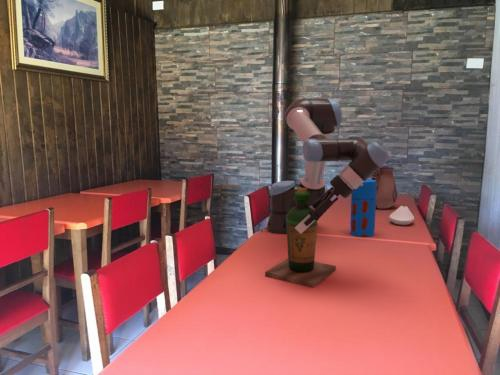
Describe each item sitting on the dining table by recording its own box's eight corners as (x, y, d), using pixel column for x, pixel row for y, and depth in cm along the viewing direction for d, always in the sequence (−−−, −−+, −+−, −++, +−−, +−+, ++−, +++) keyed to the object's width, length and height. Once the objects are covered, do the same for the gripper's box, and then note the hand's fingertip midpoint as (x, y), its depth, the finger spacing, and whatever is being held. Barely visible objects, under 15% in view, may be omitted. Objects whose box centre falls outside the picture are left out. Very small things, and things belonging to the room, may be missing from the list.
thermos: (376, 237, 177) (378, 182, 173) (351, 236, 179) (353, 181, 175) (372, 231, 188) (374, 178, 184) (349, 230, 189) (350, 178, 186)
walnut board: (265, 275, 134) (265, 271, 133) (290, 260, 148) (290, 256, 148) (314, 287, 124) (314, 283, 124) (335, 269, 139) (335, 265, 138)
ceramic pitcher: (399, 206, 242) (401, 165, 238) (391, 213, 225) (393, 169, 221) (370, 203, 252) (372, 164, 248) (360, 209, 234) (362, 167, 230)
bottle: (297, 276, 129) (298, 192, 124) (279, 266, 138) (280, 187, 134) (323, 270, 134) (325, 189, 129) (304, 261, 143) (306, 184, 139)
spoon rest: (413, 228, 193) (414, 213, 192) (387, 225, 198) (388, 211, 197) (415, 217, 215) (415, 204, 214) (392, 215, 220) (392, 203, 218)
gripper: (357, 197, 116) (305, 244, 121) (352, 184, 140) (308, 224, 145) (339, 179, 116) (287, 226, 121) (337, 169, 140) (294, 209, 146)
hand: (299, 225), depth 133 cm, fingers open, 13 cm apart
